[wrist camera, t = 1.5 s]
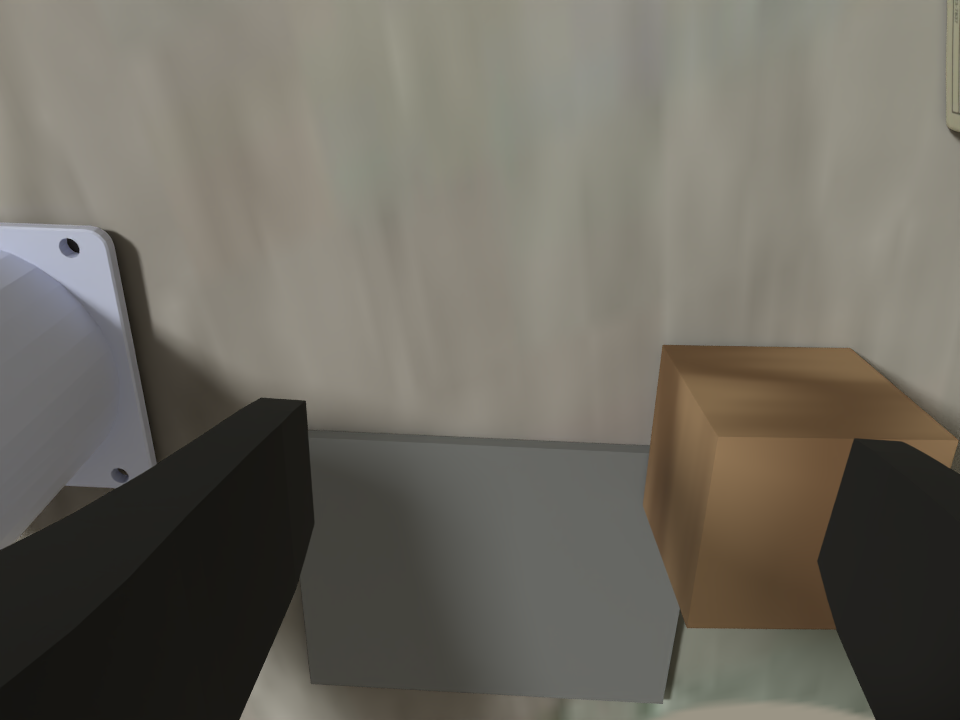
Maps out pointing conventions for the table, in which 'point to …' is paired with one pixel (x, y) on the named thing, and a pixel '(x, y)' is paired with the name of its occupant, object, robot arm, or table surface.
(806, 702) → the table surface
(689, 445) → the cube
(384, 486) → the mat
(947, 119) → the box
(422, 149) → the table surface
